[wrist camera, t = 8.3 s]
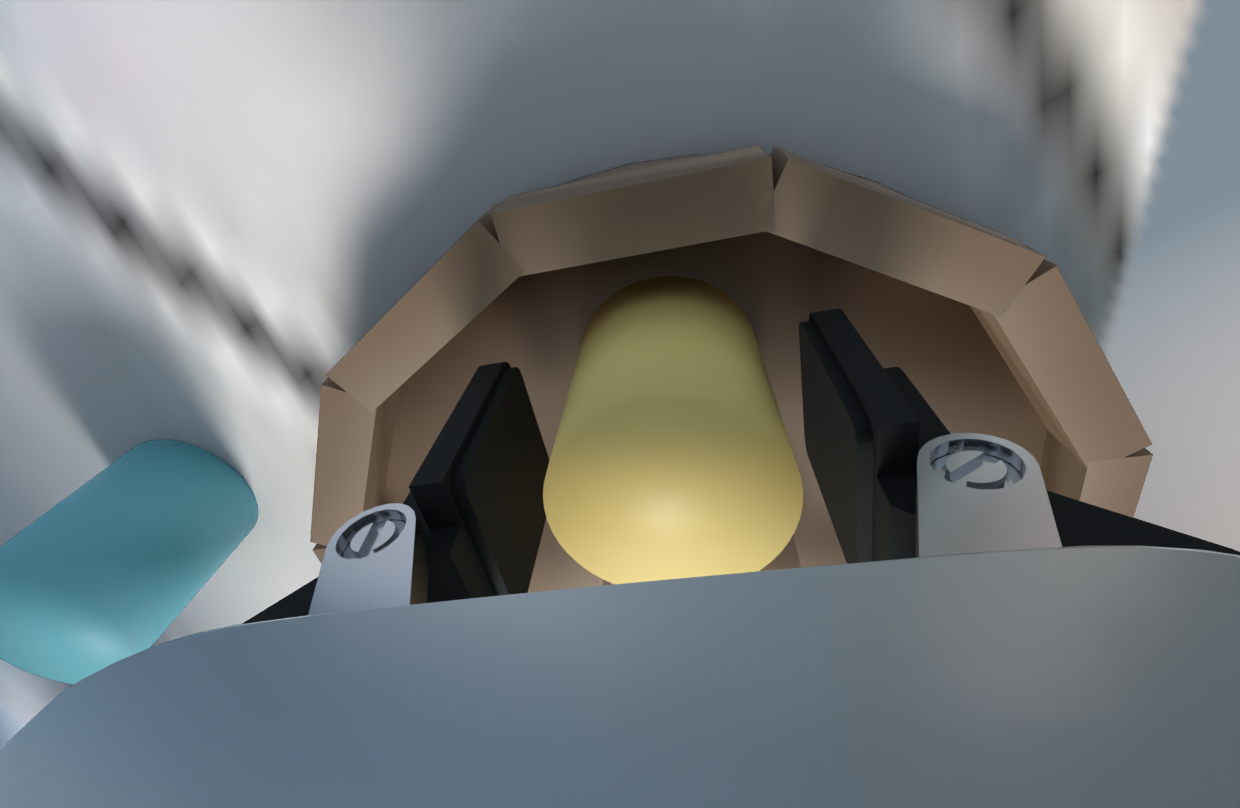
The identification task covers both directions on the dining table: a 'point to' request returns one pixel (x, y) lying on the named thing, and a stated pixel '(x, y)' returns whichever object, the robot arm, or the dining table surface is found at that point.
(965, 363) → the groove tray
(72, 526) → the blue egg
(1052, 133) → the dining table surface
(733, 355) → the ochre bead
